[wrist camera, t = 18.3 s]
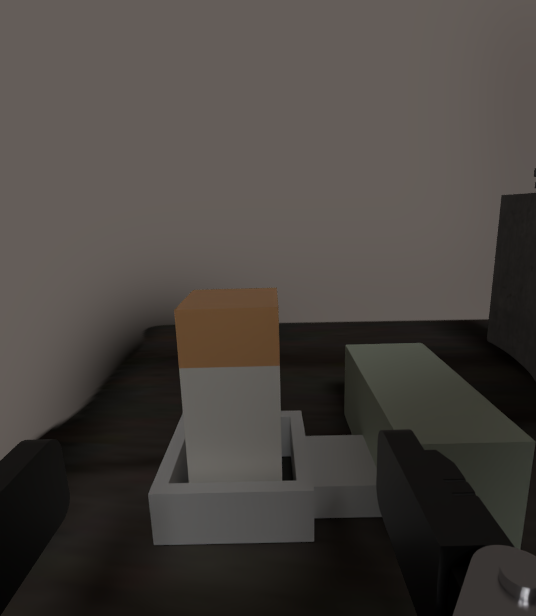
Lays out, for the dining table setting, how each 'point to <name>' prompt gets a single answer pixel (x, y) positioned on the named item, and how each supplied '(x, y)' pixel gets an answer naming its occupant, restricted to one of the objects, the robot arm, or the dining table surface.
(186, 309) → the orange and grey block
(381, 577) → the dining table surface
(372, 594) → the dining table surface
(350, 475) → the grey boxy piece
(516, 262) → the hip flask
